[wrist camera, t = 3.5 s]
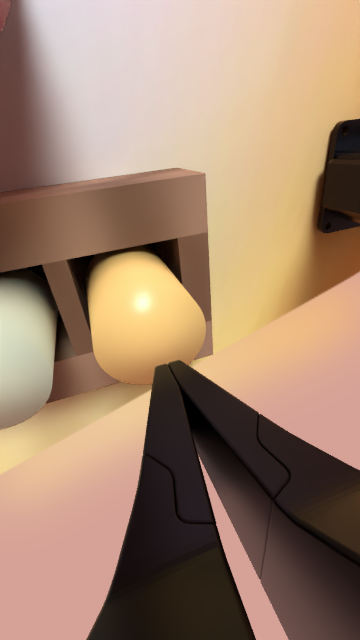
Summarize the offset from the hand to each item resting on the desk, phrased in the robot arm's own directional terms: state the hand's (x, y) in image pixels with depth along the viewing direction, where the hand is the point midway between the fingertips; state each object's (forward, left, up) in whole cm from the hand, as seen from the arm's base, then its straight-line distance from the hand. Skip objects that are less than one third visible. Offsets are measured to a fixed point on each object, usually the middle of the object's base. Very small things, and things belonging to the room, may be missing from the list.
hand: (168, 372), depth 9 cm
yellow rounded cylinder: (0, 0, -8) cm, 8 cm away
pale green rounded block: (+6, 0, -8) cm, 10 cm away
